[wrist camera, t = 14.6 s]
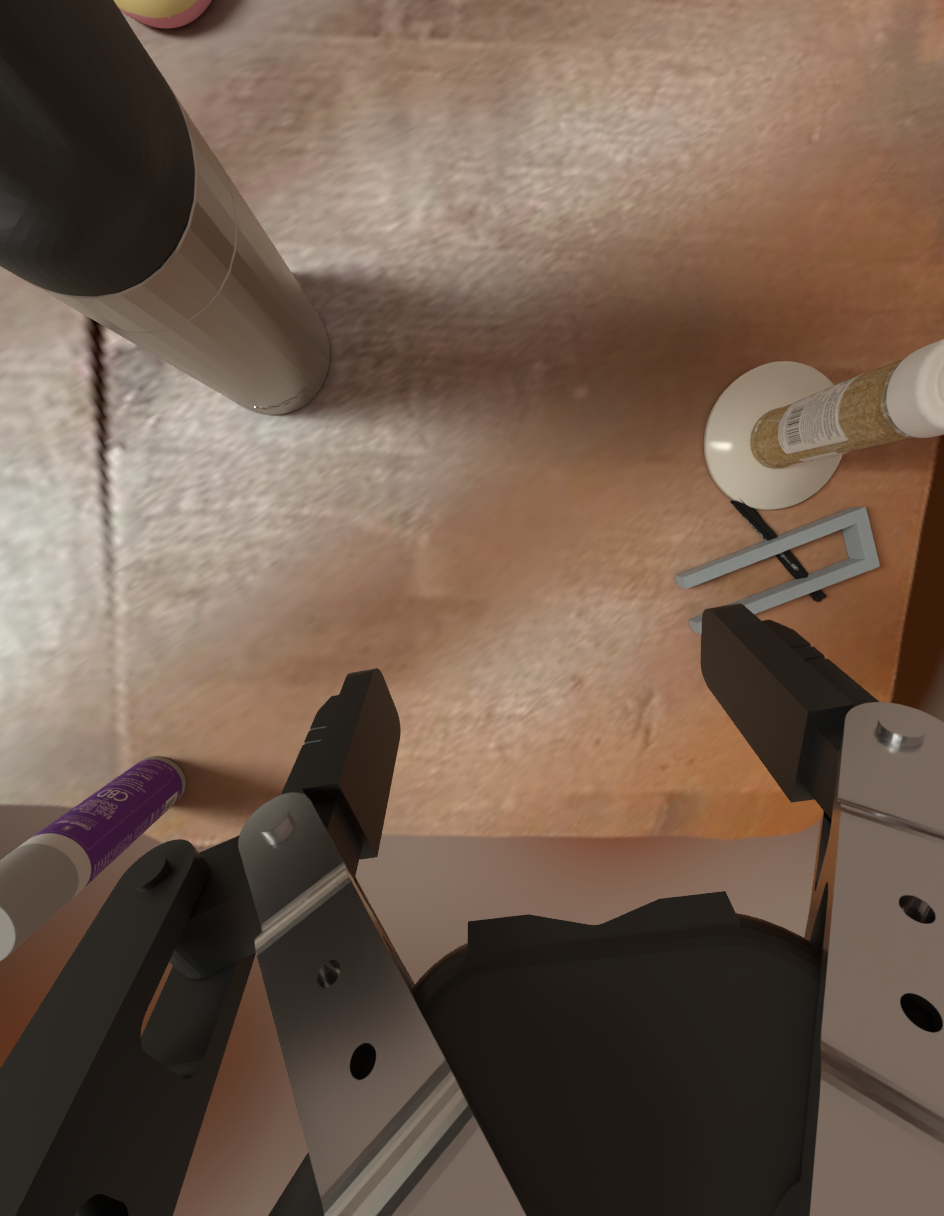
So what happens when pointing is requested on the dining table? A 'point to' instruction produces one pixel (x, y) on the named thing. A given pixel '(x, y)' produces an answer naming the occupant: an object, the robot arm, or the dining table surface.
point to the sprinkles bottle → (857, 413)
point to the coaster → (732, 436)
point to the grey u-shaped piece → (848, 520)
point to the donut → (163, 11)
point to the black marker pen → (768, 534)
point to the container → (81, 846)
